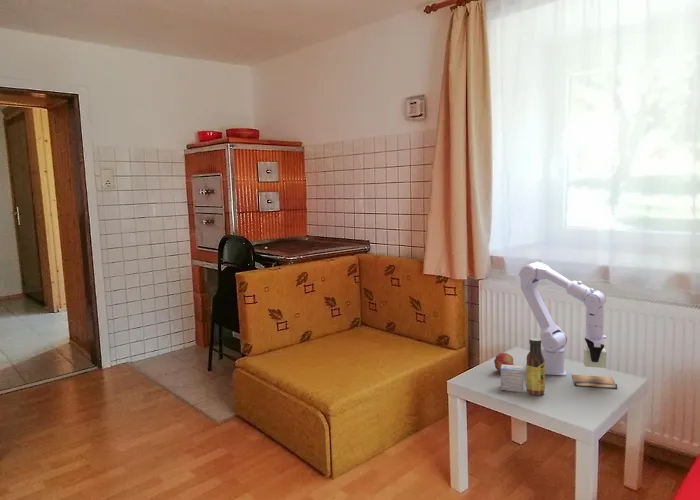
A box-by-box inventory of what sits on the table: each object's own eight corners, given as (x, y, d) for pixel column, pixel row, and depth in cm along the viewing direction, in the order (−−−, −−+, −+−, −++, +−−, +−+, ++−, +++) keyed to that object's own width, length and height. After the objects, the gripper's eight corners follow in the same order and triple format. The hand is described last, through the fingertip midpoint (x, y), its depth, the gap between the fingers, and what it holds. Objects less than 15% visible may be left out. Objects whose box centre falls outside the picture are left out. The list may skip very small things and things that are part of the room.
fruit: (511, 378, 195) (511, 358, 194) (491, 374, 199) (491, 355, 198) (516, 371, 201) (516, 351, 200) (497, 368, 205) (496, 349, 204)
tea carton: (606, 367, 184) (606, 352, 184) (585, 366, 187) (585, 351, 186) (604, 363, 188) (604, 348, 187) (583, 362, 190) (584, 347, 190)
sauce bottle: (544, 397, 178) (545, 342, 175) (526, 395, 180) (526, 341, 177) (544, 389, 184) (544, 336, 181) (526, 387, 186) (526, 335, 183)
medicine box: (523, 387, 186) (523, 365, 185) (523, 393, 182) (523, 370, 180) (501, 386, 188) (501, 363, 187) (500, 390, 184) (500, 368, 183)
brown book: (574, 385, 185) (574, 381, 185) (571, 376, 194) (572, 372, 194) (617, 388, 181) (617, 384, 181) (612, 378, 190) (612, 374, 189)
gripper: (610, 330, 177) (609, 367, 179) (603, 319, 191) (602, 353, 193) (588, 329, 179) (587, 366, 181) (582, 318, 193) (582, 352, 195)
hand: (593, 359), depth 187 cm, fingers closed on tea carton, 4 cm apart
